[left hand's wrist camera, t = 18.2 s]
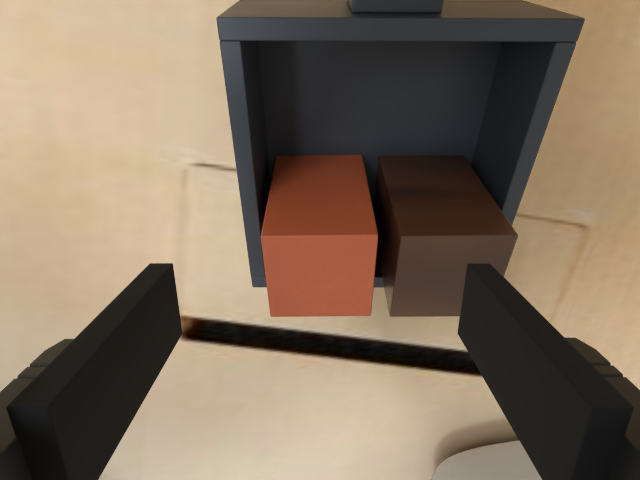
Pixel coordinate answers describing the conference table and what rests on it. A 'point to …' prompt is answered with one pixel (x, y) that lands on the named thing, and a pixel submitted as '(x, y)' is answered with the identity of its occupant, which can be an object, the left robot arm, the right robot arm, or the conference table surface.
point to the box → (390, 88)
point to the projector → (489, 464)
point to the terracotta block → (319, 237)
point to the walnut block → (435, 232)
